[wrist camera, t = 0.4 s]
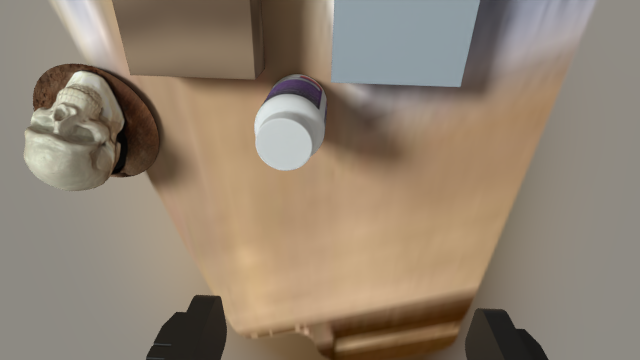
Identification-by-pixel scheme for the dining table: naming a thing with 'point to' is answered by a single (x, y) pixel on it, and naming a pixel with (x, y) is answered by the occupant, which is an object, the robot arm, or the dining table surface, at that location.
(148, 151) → the skull
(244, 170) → the dining table surface
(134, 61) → the walnut block
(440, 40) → the slate block
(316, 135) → the pill bottle
